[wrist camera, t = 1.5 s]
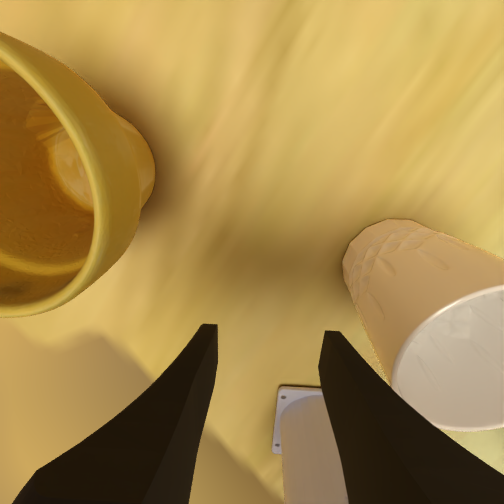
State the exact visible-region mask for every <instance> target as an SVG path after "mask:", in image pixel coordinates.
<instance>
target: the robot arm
mask: <svg viewBox="0 0 504 504" xmlns="http://www.w3.org/2000/svg"><path fill="white" fill-rule="evenodd" d="M217 364H218V325H217V324H202V325H201V326H200V328H199V329H198V331H197V332H196V333H195V335H194V336H193V338H192V339H191V340H190V342H189V343H188V344H187V346H186V347H185V348H184V349H183V350H182V352H181V353H180V354H179V355H178V357H177V358H176V359H175V360H174V361H173V362H172V364H171V365H170V366H169V367H168V368H167V369H166V370H165V371H164V372H163V373H162V374H161V376H160V377H159V378H158V379H157V380H156V381H155V382H154V383H153V384H152V385H151V386H150V387H149V388H148V389H147V390H146V391H144V392H143V393H142V394H141V395H140V396H139V397H138V398H137V399H136V400H134V401H133V402H132V403H131V404H130V405H129V406H127V407H126V408H125V409H124V410H123V411H122V412H121V413H119V414H118V415H117V416H115V417H114V418H113V419H112V420H110V421H109V422H107V423H106V424H105V425H103V426H102V427H101V428H99V429H98V430H97V431H95V432H94V433H93V434H91V435H90V436H89V437H87V438H86V439H84V440H83V441H82V442H80V443H79V444H77V445H76V446H74V447H73V448H71V449H70V450H68V451H67V452H65V453H63V454H62V455H60V456H59V457H57V458H56V459H54V460H52V461H51V462H49V463H48V464H46V465H45V466H43V467H41V468H40V469H38V470H37V471H36V472H35V473H34V474H33V476H32V477H31V479H30V480H29V481H28V482H27V483H26V485H25V486H24V487H23V489H22V490H21V491H20V493H19V494H18V496H17V497H16V498H15V500H14V501H13V503H12V504H189V498H190V492H191V486H192V480H193V474H194V469H195V462H196V456H197V452H198V447H199V443H200V439H201V435H202V431H203V427H204V423H205V419H206V416H207V412H208V408H209V404H210V400H211V396H212V392H213V388H214V384H215V378H216V371H217ZM318 369H319V376H320V383H321V388H305V387H288V386H282V387H280V388H279V389H278V397H277V406H276V414H275V423H274V432H273V441H272V452H273V453H274V454H282V467H283V484H284V500H285V504H504V475H503V474H501V473H500V472H498V471H497V470H495V469H494V468H492V467H491V466H489V465H488V464H486V463H485V462H483V461H482V460H481V459H479V458H478V457H476V456H475V455H473V454H472V453H470V452H469V451H468V450H466V449H465V448H463V447H462V446H461V445H459V444H458V443H456V442H455V441H454V440H452V439H451V438H450V437H448V436H447V435H446V434H445V433H443V432H442V431H441V430H439V429H438V428H437V427H436V426H434V425H433V424H432V423H430V422H429V421H428V420H427V419H426V418H424V417H423V416H422V415H421V414H420V413H418V412H417V411H416V410H415V409H414V408H413V407H411V406H410V405H409V404H408V403H407V402H406V401H405V400H403V399H402V398H401V397H400V396H399V395H398V394H397V393H396V392H395V391H394V390H393V389H392V388H391V387H390V386H389V385H388V384H387V383H386V382H385V381H384V380H383V379H382V378H381V377H380V376H379V375H378V374H377V373H376V372H375V371H374V370H373V369H372V368H371V367H370V366H369V364H368V363H367V362H366V361H365V360H364V359H363V358H362V357H361V356H360V354H359V353H358V352H357V351H356V350H355V349H354V347H353V346H352V345H351V344H350V343H349V342H348V340H347V339H346V338H345V337H344V336H343V335H342V333H341V332H340V331H325V333H324V339H323V344H322V349H321V355H320V360H319V365H318ZM283 395H284V396H283Z"/></svg>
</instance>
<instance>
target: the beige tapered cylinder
mask: <svg viewBox="0 0 504 504" xmlns="http://www.w3.org/2000/svg"><path fill="white" fill-rule="evenodd" d="M342 266H343V277H344V281H345V283H346V285H347V287H348V289H349V291H350V293H351V297H352V300H353V303H354V306H355V308H356V311H357V313H358V315H359V317H360V320H361V323H362V325H363V327H364V330H365V332H366V334H367V336H368V338H369V341H370V343H371V345H372V347H373V349H374V351H375V354H376V356H377V358H378V360H379V362H380V364H381V367H382V369H383V371H384V373H385V376H386V378H387V380H388V382H389V384H390V387H391V388H392V389H393V390H394V391H395V392H396V393H397V394H398V395H399V396H400V397H401V398H402V399H403V400H405V401H406V402H407V403H408V404H409V405H410V406H411V407H413V408H414V409H415V410H416V411H417V412H418V413H420V414H421V415H422V416H423V417H424V418H426V419H427V420H428V421H429V422H430V423H432V424H433V425H434V426H436V427H437V428H439V429H444V430H450V431H462V432H473V431H485V430H492V429H498V428H502V427H504V259H503V258H500V257H498V256H496V255H494V254H492V253H489V252H487V251H485V250H483V249H481V248H479V247H476V246H474V245H471V244H468V243H466V242H464V241H462V240H459V239H457V238H455V237H452V236H450V235H447V234H445V233H442V232H438V231H434V230H431V229H429V228H427V227H425V226H423V225H420V224H418V223H416V222H414V221H412V220H405V219H387V220H384V221H382V222H379V223H377V224H374V225H372V226H369V227H367V228H365V229H364V230H363V231H362V232H361V233H360V234H359V235H358V236H357V237H356V238H355V239H353V240H352V241H351V242H350V244H349V246H348V249H347V251H346V253H345V256H344V258H343V260H342Z"/></svg>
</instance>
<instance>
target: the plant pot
mask: <svg viewBox="0 0 504 504" xmlns="http://www.w3.org/2000/svg"><path fill="white" fill-rule="evenodd" d="M154 183H155V163H154V159H153V155H152V153H151V150H150V148H149V146H148V144H147V142H146V141H145V139H144V138H143V136H142V135H141V134H140V132H139V131H138V130H137V129H136V128H135V127H134V126H133V125H132V124H131V123H129V122H128V121H127V120H125V119H124V118H122V117H121V116H119V115H118V114H116V113H114V112H113V111H111V110H110V108H109V107H108V106H107V104H106V103H105V102H104V101H103V99H102V98H101V97H100V96H99V95H98V94H97V93H96V92H95V91H94V90H93V88H91V87H90V86H89V85H88V84H87V83H86V82H85V81H84V80H83V79H82V78H81V77H79V76H78V75H77V74H76V73H75V72H73V71H72V70H71V69H69V68H68V67H67V66H65V65H64V64H62V63H61V62H59V61H58V60H56V59H54V58H53V57H51V56H49V55H47V54H46V53H44V52H42V51H40V50H38V49H36V48H34V47H32V46H30V45H28V44H26V43H24V42H22V41H20V40H17V39H15V38H13V37H11V36H9V35H6V34H4V33H2V32H0V318H16V317H26V316H32V315H37V314H41V313H44V312H47V311H50V310H53V309H56V308H58V307H60V306H62V305H64V304H65V303H67V302H69V301H70V300H72V299H73V298H75V297H76V296H77V295H79V294H80V293H81V292H83V291H84V290H85V289H87V288H88V287H89V286H90V285H92V284H93V283H94V282H95V281H96V280H97V279H99V278H100V277H101V276H102V275H103V274H104V273H105V272H107V271H108V270H109V269H110V268H111V267H112V266H113V265H114V264H115V263H116V262H117V261H118V259H119V258H120V257H121V256H122V255H123V254H124V252H125V251H126V250H127V248H128V246H129V245H130V243H131V241H132V239H133V237H134V235H135V232H136V230H137V226H138V222H139V218H140V212H141V209H142V207H143V206H144V204H145V203H146V202H147V200H148V199H149V197H150V195H151V193H152V191H153V187H154Z"/></svg>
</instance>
